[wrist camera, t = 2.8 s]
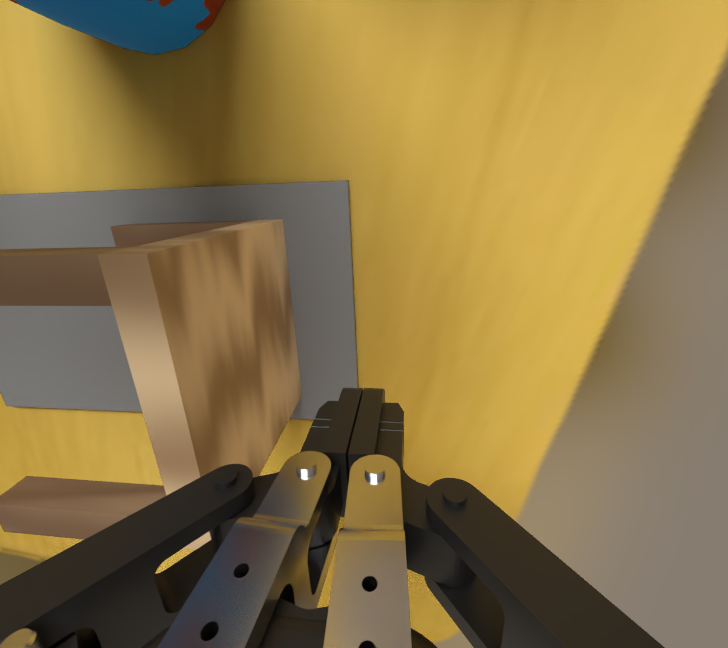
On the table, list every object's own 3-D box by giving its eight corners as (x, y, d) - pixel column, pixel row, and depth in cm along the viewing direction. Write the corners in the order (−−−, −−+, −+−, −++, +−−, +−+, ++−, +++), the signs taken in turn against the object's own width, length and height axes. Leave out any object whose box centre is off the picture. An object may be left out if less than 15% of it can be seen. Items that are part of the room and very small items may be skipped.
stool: (129, 223, 23) (-134, 258, 12) (282, 219, 22) (146, 253, 11) (171, 390, 27) (4, 531, 16) (301, 395, 26) (218, 552, 15)
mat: (-77, 198, 25) (-84, 198, 24) (348, 180, 21) (347, 180, 21) (11, 403, 30) (6, 406, 30) (359, 418, 27) (359, 421, 26)
